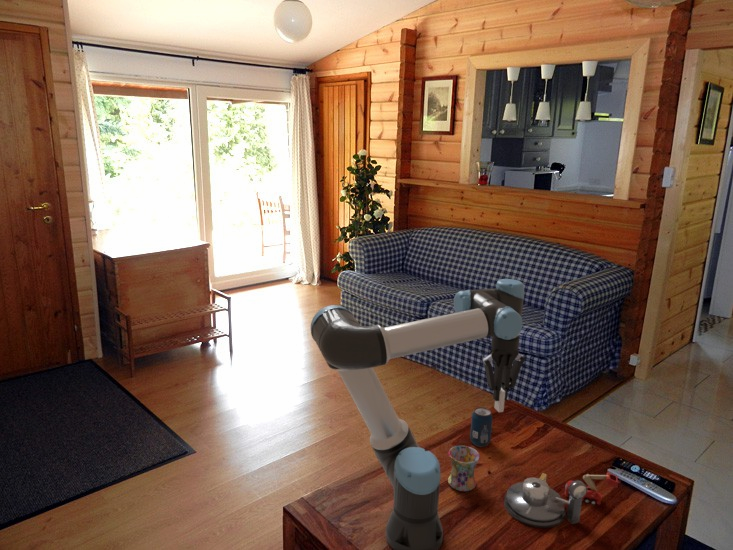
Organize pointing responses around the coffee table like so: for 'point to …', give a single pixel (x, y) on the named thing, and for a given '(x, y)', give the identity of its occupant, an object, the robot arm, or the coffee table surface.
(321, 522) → the coffee table surface
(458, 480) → the mug
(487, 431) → the soda can
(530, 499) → the cover
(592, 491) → the toy fire truck
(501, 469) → the coffee table surface
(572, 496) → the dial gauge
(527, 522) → the base
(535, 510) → the turntable
